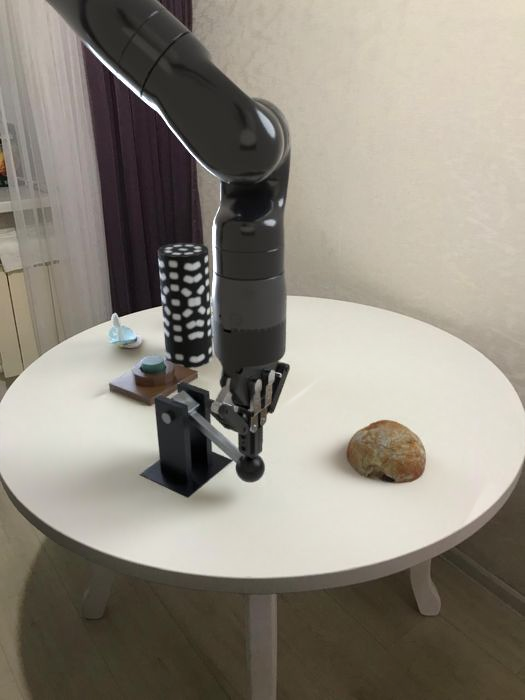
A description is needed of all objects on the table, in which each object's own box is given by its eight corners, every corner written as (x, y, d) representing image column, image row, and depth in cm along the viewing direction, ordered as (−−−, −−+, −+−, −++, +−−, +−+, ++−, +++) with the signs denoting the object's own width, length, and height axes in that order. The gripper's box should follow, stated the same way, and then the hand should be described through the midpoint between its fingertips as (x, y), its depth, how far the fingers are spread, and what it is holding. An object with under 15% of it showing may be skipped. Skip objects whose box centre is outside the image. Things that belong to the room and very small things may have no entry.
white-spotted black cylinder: (158, 364, 104) (148, 254, 95) (178, 345, 111) (170, 241, 102) (202, 371, 101) (196, 258, 93) (219, 351, 109) (215, 245, 100)
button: (153, 377, 92) (152, 367, 91) (137, 371, 94) (136, 361, 93) (169, 368, 94) (168, 358, 94) (153, 362, 96) (152, 353, 96)
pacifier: (139, 334, 116) (108, 337, 114) (138, 304, 113) (105, 307, 111) (144, 350, 109) (111, 353, 108) (142, 318, 107) (108, 321, 105)
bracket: (233, 467, 77) (231, 388, 72) (188, 505, 70) (182, 421, 65) (186, 447, 81) (181, 371, 76) (139, 481, 74) (130, 400, 69)
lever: (264, 478, 70) (274, 461, 68) (247, 493, 67) (258, 476, 65) (180, 403, 74) (187, 385, 72) (161, 415, 71) (168, 396, 69)
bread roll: (343, 499, 76) (347, 470, 70) (346, 431, 83) (349, 399, 77) (422, 506, 75) (432, 477, 69) (418, 437, 82) (427, 404, 75)
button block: (151, 412, 89) (149, 389, 87) (110, 395, 94) (107, 373, 92) (198, 383, 97) (197, 361, 96) (158, 369, 102) (156, 348, 100)
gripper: (256, 287, 67) (256, 417, 74) (178, 324, 57) (187, 471, 64) (314, 300, 63) (308, 436, 70) (240, 343, 53) (243, 496, 60)
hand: (250, 453), depth 67 cm, fingers closed
